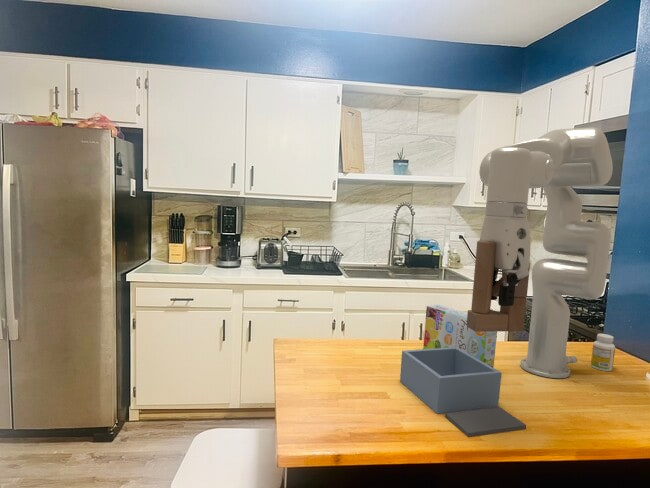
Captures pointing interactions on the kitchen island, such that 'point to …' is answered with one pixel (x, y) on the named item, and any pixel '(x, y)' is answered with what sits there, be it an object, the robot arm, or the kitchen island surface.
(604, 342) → the supplement bottle
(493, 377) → the box
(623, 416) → the kitchen island surface
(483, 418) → the place mat
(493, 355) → the snack box
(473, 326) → the brown piece
